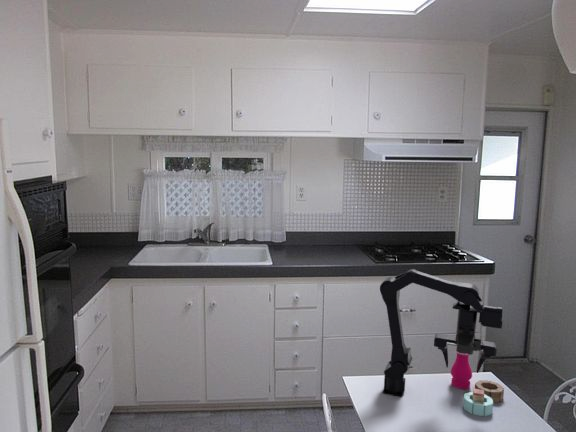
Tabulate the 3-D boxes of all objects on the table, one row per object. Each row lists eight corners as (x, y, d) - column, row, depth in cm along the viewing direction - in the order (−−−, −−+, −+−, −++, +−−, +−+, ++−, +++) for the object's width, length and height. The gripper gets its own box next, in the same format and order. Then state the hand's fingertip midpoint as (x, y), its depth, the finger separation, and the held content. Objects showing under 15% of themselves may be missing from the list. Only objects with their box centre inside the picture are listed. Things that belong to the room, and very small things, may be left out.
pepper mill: (473, 390, 165) (477, 335, 163) (451, 388, 167) (455, 333, 165) (469, 381, 172) (473, 328, 170) (448, 379, 174) (452, 326, 172)
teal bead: (463, 412, 150) (464, 402, 150) (463, 400, 158) (463, 390, 158) (493, 418, 147) (493, 407, 147) (491, 405, 156) (491, 395, 155)
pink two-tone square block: (472, 410, 152) (473, 392, 151) (472, 405, 155) (473, 388, 154) (482, 412, 151) (484, 394, 150) (482, 407, 154) (483, 390, 153)
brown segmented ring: (482, 402, 157) (483, 392, 157) (470, 389, 166) (471, 380, 166) (507, 402, 158) (508, 392, 157) (494, 389, 166) (495, 380, 166)
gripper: (435, 326, 148) (431, 374, 150) (500, 336, 142) (494, 386, 144) (436, 316, 158) (432, 360, 160) (497, 325, 152) (492, 371, 154)
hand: (462, 369), depth 154 cm, fingers open, 9 cm apart
